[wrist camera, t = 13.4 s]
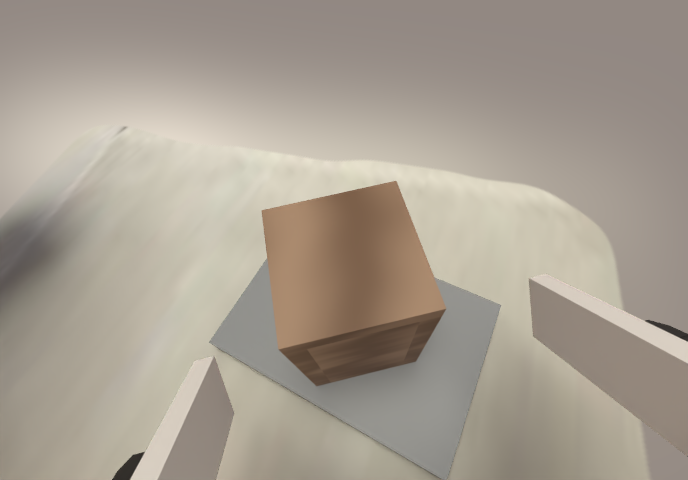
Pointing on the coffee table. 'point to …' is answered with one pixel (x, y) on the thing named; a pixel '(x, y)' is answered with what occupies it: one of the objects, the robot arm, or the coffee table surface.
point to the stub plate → (381, 374)
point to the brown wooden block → (349, 283)
